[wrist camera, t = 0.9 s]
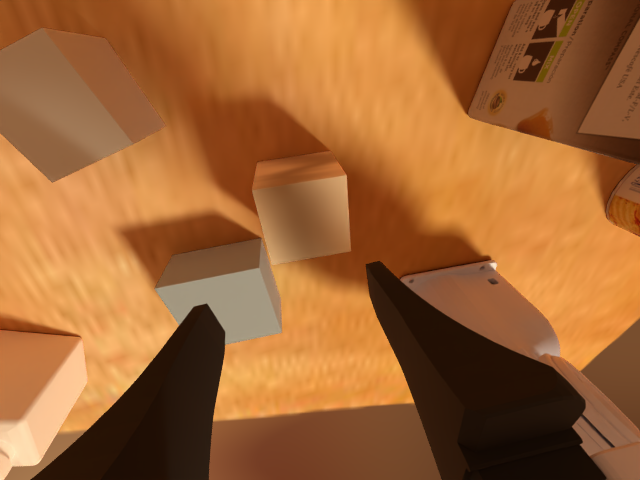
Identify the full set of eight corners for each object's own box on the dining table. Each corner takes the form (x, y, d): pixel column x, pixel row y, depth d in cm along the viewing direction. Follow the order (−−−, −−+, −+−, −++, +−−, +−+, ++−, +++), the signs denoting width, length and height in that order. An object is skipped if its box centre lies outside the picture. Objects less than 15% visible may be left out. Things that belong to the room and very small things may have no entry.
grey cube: (106, 38, 14) (41, 27, 10) (166, 125, 16) (133, 143, 12) (33, 76, 14) (-55, 80, 10) (103, 156, 16) (52, 182, 13)
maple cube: (330, 150, 18) (346, 175, 14) (336, 214, 21) (350, 251, 17) (257, 161, 18) (251, 190, 14) (272, 225, 21) (272, 265, 17)
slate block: (261, 236, 21) (259, 267, 18) (280, 297, 25) (281, 332, 22) (173, 253, 21) (154, 288, 18) (206, 312, 25) (196, 350, 22)
